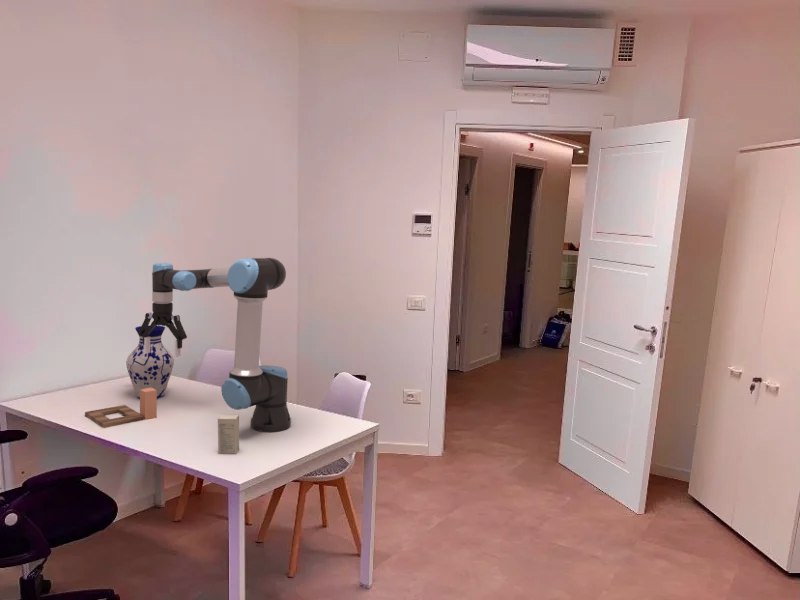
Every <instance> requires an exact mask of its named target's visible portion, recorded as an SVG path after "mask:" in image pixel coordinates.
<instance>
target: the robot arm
mask: <svg viewBox="0 0 800 600" xmlns="http://www.w3.org/2000/svg"><path fill="white" fill-rule="evenodd" d="M286 277H287V270H286V268H285V265H284V264H283V263H282V262H281V261H280V260H279V259H276V258H273V257H256V258H255V257H251V258H250V257H246V258H241V259H237V260H236V261H234V262H233V263H232V264H231V265H230V266H228V267H219V268H217V267H216V268H215V267H214V268H206V269H204V268H203V269H185V270H184V269H183V270H180V269H174V266H173V263H168V262H156V263H154V264H152V272H151V279H152V287H151V288H152V298H151V301H152V303H151V304H152V305H151V306H152V307H151V309H152V312H146V313H145V315H144V320H143V322H142V324H141V325H140V326H141V328H140V330H139V332H138V333H137V335H138V336H139V335H141V336H142V337H143V345H144V354H147V353H150V337H148V336H149V334H150V333H151V332H152V331H153V329H154V328H155V327H156V326H163V327H166V328H168V329H169V331H170V333H171V334H172V335H173V336H174V337H175V339H176V340H174V358H177V357H180V356H181V349H183V340H186V339H188V335H187V334H186V331H185V329H184V327H183V324H182V322H181V316H180V315H179V314H175V315H173V310H174V309H173V308H174V307H173V306H174V304H173V299H174V295H173V294H174V293H173V292H174V290H175V291H176V290H178V291H182V292H184V291H186V292H188V291H191V290H197V289H210V288H211V289H212V288H225V287H229V289H230V290H231V291H232V292H233V297H234V298H235V299H236V300H237V308H236V327H235V344H234V346H235V347H234V361H233V362H234V364H233V366H232V367H231V368H230V369H229V373H228V374H229V375H228V376H229V377H228V378H226V379H225V380H224V381H223V382H222V385H221V395H222V398H223V401H224V402H225V404H226V405H227V406H228V407H229V408H231V409H233V410H239V411H240V410H243V409H244V410H245V409H248V408H251V407H253V406H254V410H253V412H252V416H251V418H250V427H251V429H253V430H255V431H258V432H266V433H267V432H269V433H271V432H280V431H285V430H287V429H289V428H290V427H291V425H292V420H291V419H292V418H291V416H290V415H291V414H290V411H289V409H288V402H287V401H288V381H289V380H288V379H289V377H288V370H287V369H286V368H285V367H282V366H277V365H266V364H265V365H263V364H262V365H260V353H261V352H260V349H261V337H262V336H261V335H262V317H263V304H264V301H265V300H267V298H268V291H271V290H275V289H278V288H279V287H281V286H282V285H283V284H284V282H285V280H286ZM152 319H153V321H152V322H151V320H152ZM150 322H151V323H150ZM148 326H149V327H148ZM147 327H148V329H147ZM146 329H147V330H146Z"/></svg>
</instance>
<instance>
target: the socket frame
mask: <svg viewBox="0 0 800 600" xmlns="http://www.w3.org/2000/svg"><path fill="white" fill-rule="evenodd" d="M115 414H120V415H121V416H120V417H115V418H110V417H108V415H109V416H110V415H115ZM84 416H85V417H86V418H88V419H89V420H91V421H93V423H96V424H97V425H98V426H100V427H101V428H102V429H105V428H111V427H115V426H120V425H125V424H131V423H135V422H140V421H144V416H143V415H141V414H140V412H138V411H136V410H135V409H133V408H131V407H129V406H127V405H126V404H123V405H117V406H111V407H106V408H101V409H100V408H99V409H95V410H89V411H85V412H84Z"/></svg>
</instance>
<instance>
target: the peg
mask: <svg viewBox="0 0 800 600" xmlns="http://www.w3.org/2000/svg"><path fill="white" fill-rule="evenodd" d="M157 399H158V398H157V390H155V389H153V388H146V389H140V398H139V413H140V414H141V415H143V416H144V420H145V421H147V420H151V419H152V420H153V419H157V417H158V416H157V414H158V413H157V411H158V410H157V409H158V408H157V407H158V405H157V404H158V403H157ZM144 420H143V421H144Z"/></svg>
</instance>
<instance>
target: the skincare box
mask: <svg viewBox="0 0 800 600" xmlns="http://www.w3.org/2000/svg"><path fill="white" fill-rule="evenodd" d="M217 442H218V443H217V447H218V448H217V449H218V450H217V452H218V454H232V455H233V454H238V452H239V451H240V417H239V414H221V415H219V416H218V418H217Z"/></svg>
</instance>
